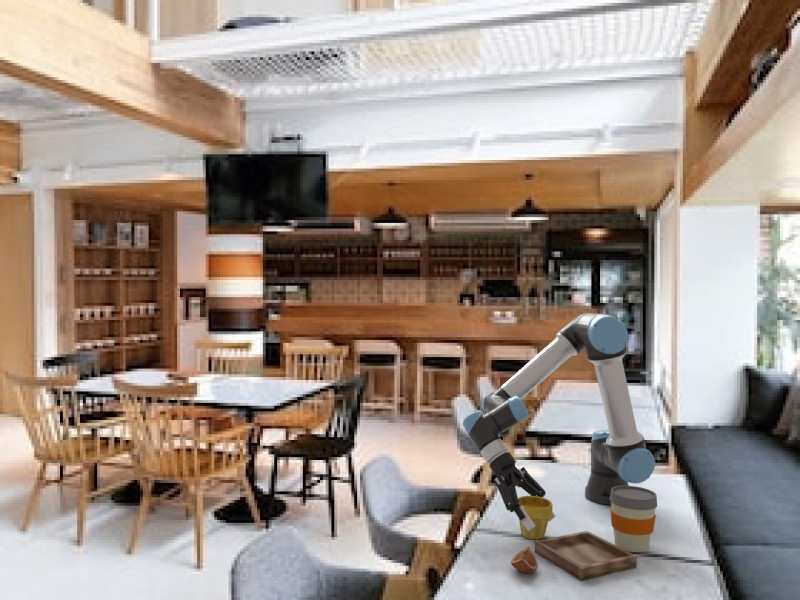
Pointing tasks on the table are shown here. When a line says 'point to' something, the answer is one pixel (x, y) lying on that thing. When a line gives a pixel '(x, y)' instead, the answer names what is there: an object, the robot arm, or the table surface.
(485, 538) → the table surface
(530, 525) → the robot arm
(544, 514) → the plant pot
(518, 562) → the fruit slice
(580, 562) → the walnut tray
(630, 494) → the reusable coffee cup
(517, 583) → the table surface
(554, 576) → the table surface
